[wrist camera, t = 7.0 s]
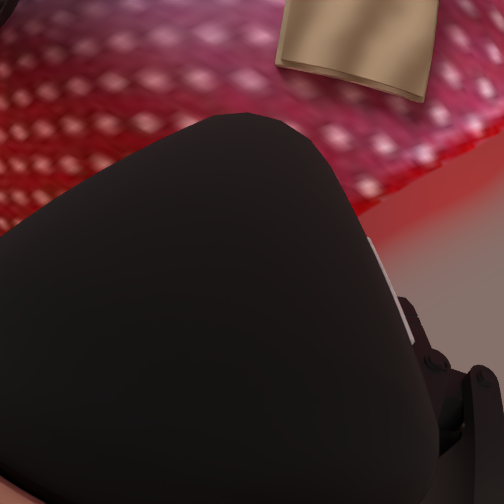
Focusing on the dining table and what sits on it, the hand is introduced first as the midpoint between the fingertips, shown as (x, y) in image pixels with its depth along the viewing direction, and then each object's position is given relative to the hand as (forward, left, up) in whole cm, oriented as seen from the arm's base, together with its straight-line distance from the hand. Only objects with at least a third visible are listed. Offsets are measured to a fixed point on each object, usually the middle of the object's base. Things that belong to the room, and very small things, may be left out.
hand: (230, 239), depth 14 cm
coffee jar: (0, 0, -5) cm, 5 cm away
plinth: (+7, +17, -22) cm, 28 cm away
